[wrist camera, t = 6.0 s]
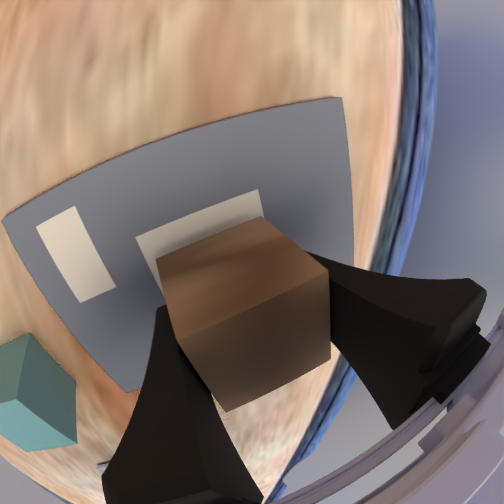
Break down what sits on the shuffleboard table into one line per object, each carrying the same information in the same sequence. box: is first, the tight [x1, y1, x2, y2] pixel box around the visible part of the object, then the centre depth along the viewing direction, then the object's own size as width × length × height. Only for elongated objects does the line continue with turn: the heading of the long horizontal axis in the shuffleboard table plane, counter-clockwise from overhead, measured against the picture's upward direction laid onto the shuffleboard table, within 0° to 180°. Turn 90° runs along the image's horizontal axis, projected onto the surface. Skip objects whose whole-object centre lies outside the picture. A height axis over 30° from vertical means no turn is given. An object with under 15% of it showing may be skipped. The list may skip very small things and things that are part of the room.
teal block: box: [0, 333, 77, 452], centre depth 10 cm, size 4×4×4 cm
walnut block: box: [155, 216, 331, 412], centre depth 10 cm, size 4×4×4 cm
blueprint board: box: [1, 97, 354, 393], centre depth 13 cm, size 16×12×1 cm
